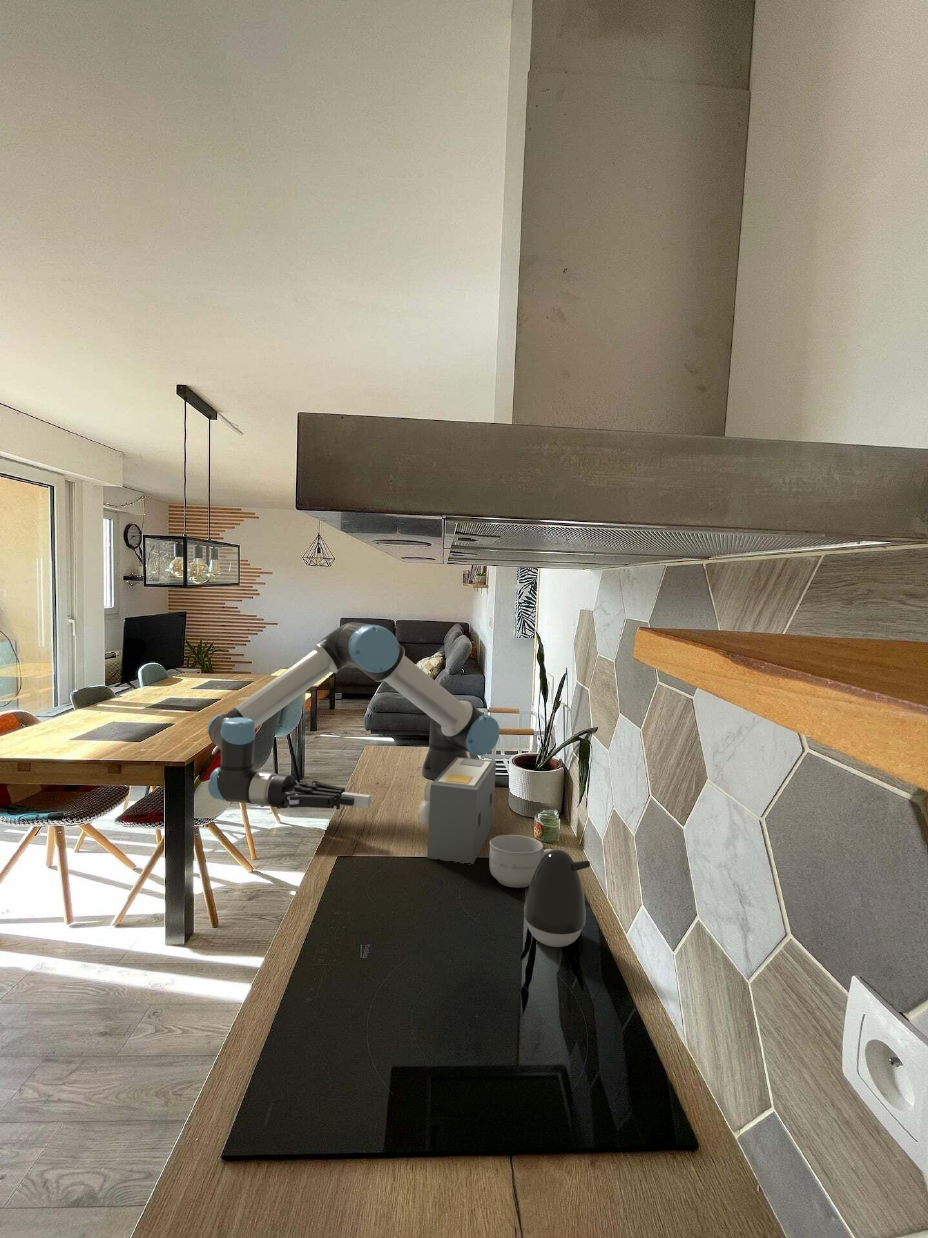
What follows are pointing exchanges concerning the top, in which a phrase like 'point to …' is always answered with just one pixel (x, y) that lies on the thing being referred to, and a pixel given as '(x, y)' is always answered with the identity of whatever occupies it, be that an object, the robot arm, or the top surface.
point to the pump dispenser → (556, 900)
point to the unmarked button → (427, 791)
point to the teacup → (515, 859)
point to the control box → (461, 810)
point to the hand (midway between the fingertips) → (369, 802)
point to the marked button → (424, 812)
